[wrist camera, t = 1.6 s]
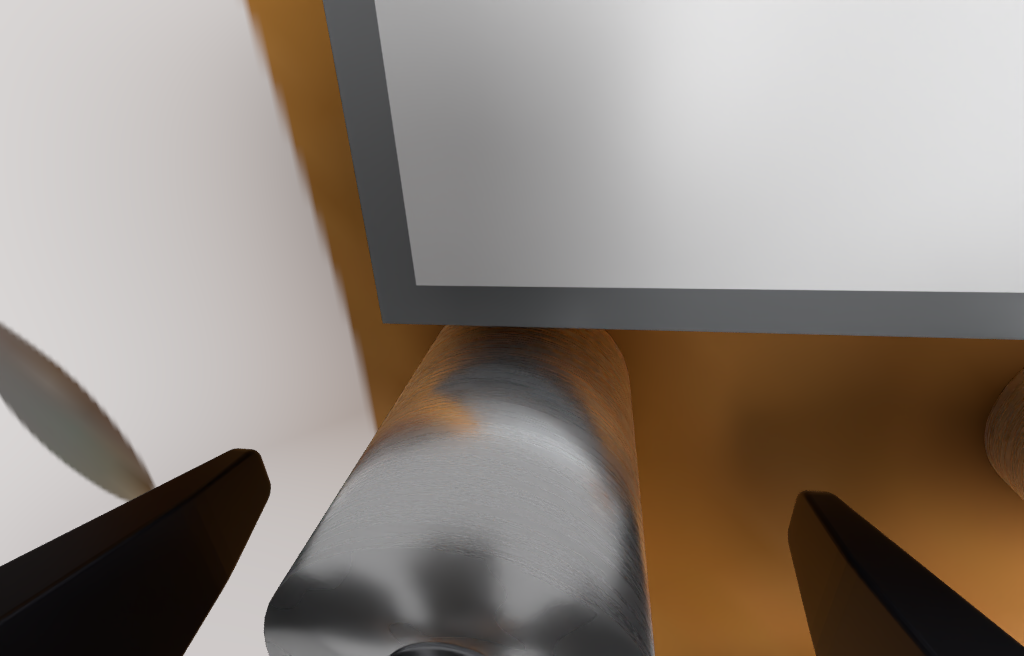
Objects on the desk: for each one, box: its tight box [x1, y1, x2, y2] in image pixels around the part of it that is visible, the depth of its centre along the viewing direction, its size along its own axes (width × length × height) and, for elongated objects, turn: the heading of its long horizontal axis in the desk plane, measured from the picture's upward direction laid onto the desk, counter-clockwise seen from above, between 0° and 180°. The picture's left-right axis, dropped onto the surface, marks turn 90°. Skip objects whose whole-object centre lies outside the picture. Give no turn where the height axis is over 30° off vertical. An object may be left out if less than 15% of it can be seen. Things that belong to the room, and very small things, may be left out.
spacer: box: [264, 325, 655, 656], centre depth 8 cm, size 4×4×6 cm
